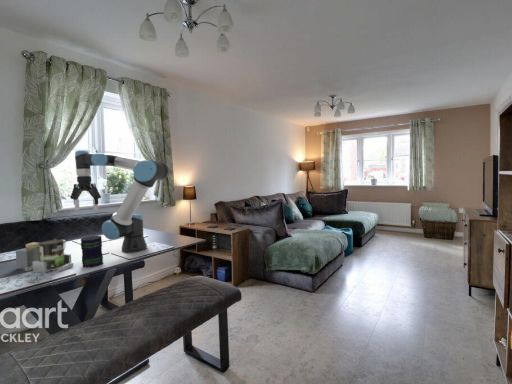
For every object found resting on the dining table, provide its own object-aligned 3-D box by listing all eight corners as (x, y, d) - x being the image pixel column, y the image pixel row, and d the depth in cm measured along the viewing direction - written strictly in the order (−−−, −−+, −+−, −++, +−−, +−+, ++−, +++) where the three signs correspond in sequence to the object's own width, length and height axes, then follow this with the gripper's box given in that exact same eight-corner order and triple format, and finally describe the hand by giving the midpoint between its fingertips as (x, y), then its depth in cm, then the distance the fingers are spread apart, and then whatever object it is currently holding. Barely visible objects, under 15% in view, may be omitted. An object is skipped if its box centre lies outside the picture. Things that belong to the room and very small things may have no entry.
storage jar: (100, 266, 145) (98, 239, 144) (79, 268, 142) (77, 240, 141) (105, 260, 155) (103, 235, 153) (85, 262, 152) (83, 236, 151)
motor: (52, 274, 135) (50, 249, 134) (11, 269, 143) (9, 246, 142) (78, 264, 149) (77, 242, 148) (40, 260, 157) (38, 239, 156)
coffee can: (69, 265, 149) (68, 239, 148) (52, 271, 138) (50, 244, 137) (54, 264, 151) (52, 239, 150) (35, 270, 141) (33, 244, 140)
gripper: (105, 175, 169) (108, 208, 171) (72, 176, 174) (74, 209, 176) (96, 175, 162) (99, 210, 163) (61, 176, 167) (64, 210, 168)
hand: (86, 209), depth 170 cm, fingers open, 13 cm apart
